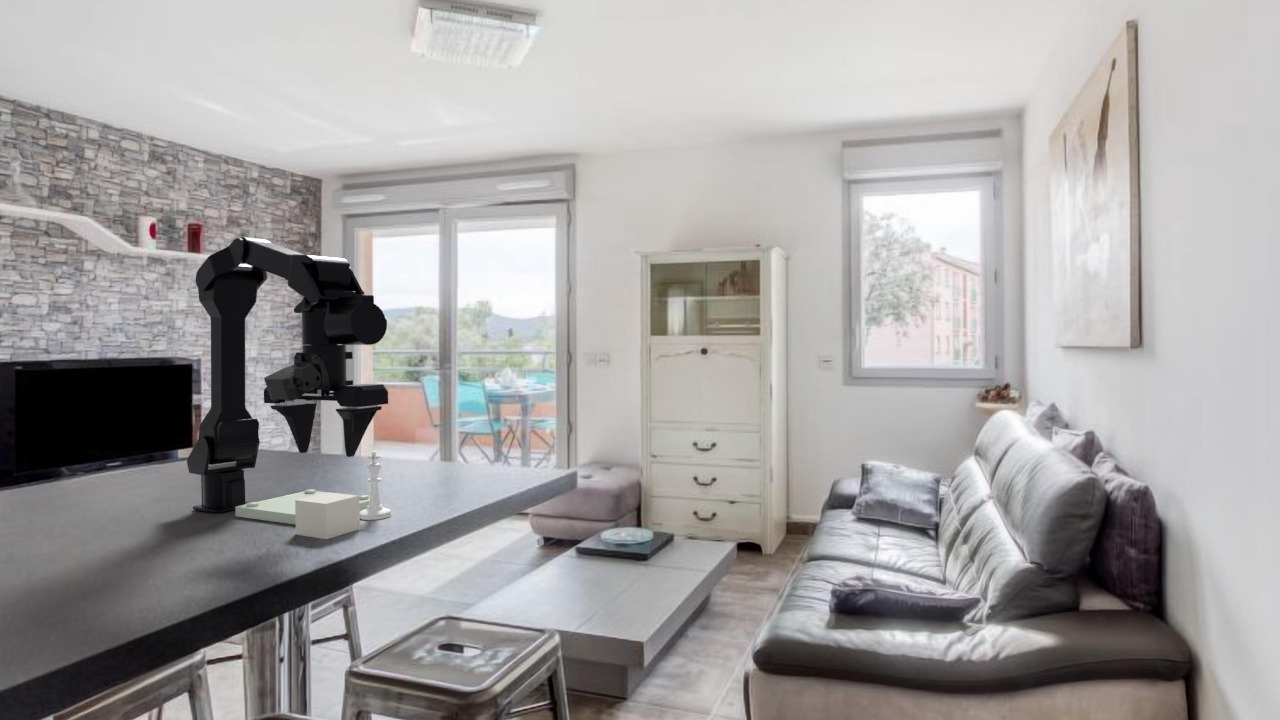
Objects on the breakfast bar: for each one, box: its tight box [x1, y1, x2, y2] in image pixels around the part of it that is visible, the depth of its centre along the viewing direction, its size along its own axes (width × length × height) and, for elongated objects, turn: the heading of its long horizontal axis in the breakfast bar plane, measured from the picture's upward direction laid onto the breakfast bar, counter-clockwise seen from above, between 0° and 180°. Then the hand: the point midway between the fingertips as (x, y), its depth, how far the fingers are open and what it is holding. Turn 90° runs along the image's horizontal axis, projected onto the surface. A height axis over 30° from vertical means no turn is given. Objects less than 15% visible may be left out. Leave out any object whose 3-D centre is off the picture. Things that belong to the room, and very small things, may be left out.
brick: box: [295, 491, 361, 540], centre depth 110 cm, size 6×6×5 cm
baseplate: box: [234, 488, 370, 526], centre depth 123 cm, size 16×14×2 cm
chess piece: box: [360, 451, 393, 521], centre depth 120 cm, size 5×5×10 cm
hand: (326, 454), depth 110 cm, fingers open, 9 cm apart
